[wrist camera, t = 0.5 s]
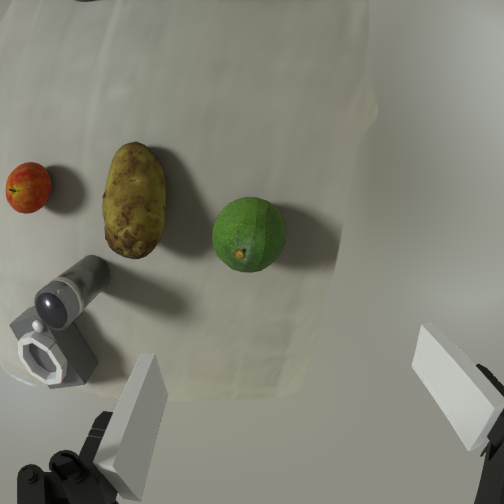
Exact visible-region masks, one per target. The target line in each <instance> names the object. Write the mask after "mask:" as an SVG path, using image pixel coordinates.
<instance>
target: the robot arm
mask: <svg viewBox="0 0 504 504" xmlns="http://www.w3.org/2000/svg"><path fill="white" fill-rule="evenodd" d="M76 1H92V0H76ZM412 367H413V369H414V370H415V372H416V373H417V375H418V376H419V377H420V379H421V380H422V382H423V383H424V385H425V386H426V388H427V389H428V390H429V392H430V393H431V395H432V396H433V397H434V399H435V401H436V402H437V404H438V405H439V407H440V408H441V410H442V411H443V413H444V414H445V415H446V417H447V419H448V420H449V422H450V423H451V425H452V426H453V428H454V429H455V431H456V432H457V434H458V435H459V437H460V439H461V440H462V442H463V444H464V445H465V447H466V448H467V450H468V451H471V450H473V449H475V448H477V447H479V446H481V445H482V443H483V442H484V440H485V438H486V437H488V439H489V440H490V441H489V443H488V444H487V446H486V447H485V449H484V450H483V451H482V453H481V455H480V456H481V457H482V456H483V455H484V453H485V452H486V455H485V461H484V466H483V470H482V475H481V480H480V484H479V487H478V492H477V495H476V499H475V502H474V504H504V386H503V385H502V384H501V383H500V382H498V380H497V378H496V377H494V376H493V374H492V373H491V372H490V371H489V370H488V369H487V368H486V367H484V366H482V365H480V364H477V365H474V364H473V362H472V361H471V360H469V358H468V357H467V356H466V355H465V354H464V353H463V352H462V351H461V350H460V349H459V348H458V347H457V346H456V345H455V344H454V342H453V341H452V340H451V339H450V338H449V337H448V336H447V335H446V334H445V333H444V332H443V331H441V329H440V328H439V327H438V326H437V325H436V324H435V323H434V322H429V323H425V324H421V328H420V333H419V337H418V342H417V346H416V351H415V355H414V359H413V363H412ZM167 397H168V393H167V390H166V387H165V384H164V381H163V378H162V375H161V372H160V368H159V365H158V362H157V359H156V355H155V353H140V355H139V357H138V359H137V361H136V364H135V366H134V368H133V370H132V372H131V374H130V377H129V379H128V381H127V383H126V385H125V388H124V390H123V392H122V394H121V396H120V399H119V401H118V403H117V406H116V408H115V411H114V412H107V411H103V412H102V413H101V414H100V415H99V416H98V417H97V418H96V419H95V421H94V423H93V425H92V429H91V430H90V432H89V434H88V437H87V438H86V441H85V443H84V445H83V447H82V449H81V452H80V454H79V456H78V455H77V454H76V453H74V452H73V451H69V450H63V451H59V452H57V453H56V454H54V456H52V458H51V459H50V462H49V469H50V470H51V471H52V472H43V470H42V469H41V468H40V467H38V466H37V465H33V464H29V465H26V466H24V467H23V468H21V470H20V471H19V472H18V477H17V504H119V503H118V502H117V501H116V496H117V493H119V495H120V496H121V497H122V498H123V499H128V500H133V501H140V502H141V500H142V495H143V491H144V487H145V483H146V478H147V474H148V470H149V466H150V462H151V458H152V453H153V450H154V446H155V442H156V438H157V434H158V431H159V427H160V423H161V419H162V416H163V412H164V408H165V404H166V401H167Z"/></svg>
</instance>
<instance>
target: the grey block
mask: <svg viewBox="0 0 504 504" xmlns="http://www.w3.org/2000/svg"><path fill="white" fill-rule="evenodd" d="M10 327H11V329H12V331H13V332H14V334H15V336H16V337H17V339H18V355H19V358H20V359H21V361H22V362H23V364H24V365H25V367H26V368H27V370H28V371H29V373H31V375H33V376H34V377H36V378H37V379H39V380H40V381H42V382H44V383H45V384H47V385H48V386H49V388H50V389H54V388H62V387H71V386H78V385H85V384H86V382H87V380H88V379H89V377H90V375H91V374H92V372H93V371H94V369H95V367H96V366H97V364H98V362H97V360H96V358H95V357H94V355H93V354H92V352H91V351H90V349H89V347H88V346H87V344H86V342H85V341H84V339H83V337H82V336H81V334H80V332H79V331H78V329H77V327H76V325H75V324H74V322H73V321H72V323H71V324H70V325H69V326H68V327H67V328H66V329H64V330H61V331H58V330H54V329H52V328H50V327H48V326H47V325H46V324H45V323H44V322H43V321H42V320H41V319H40V317H39V315H38V313H37V311H36V308H35V306H34V307H31V308H28V309H27V310H26V311H25V312H24V313H22V314H21V315H20V316H19V317H18V318H17V319H15V320H14V321H13V322H12V323H11V324H10Z"/></svg>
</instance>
